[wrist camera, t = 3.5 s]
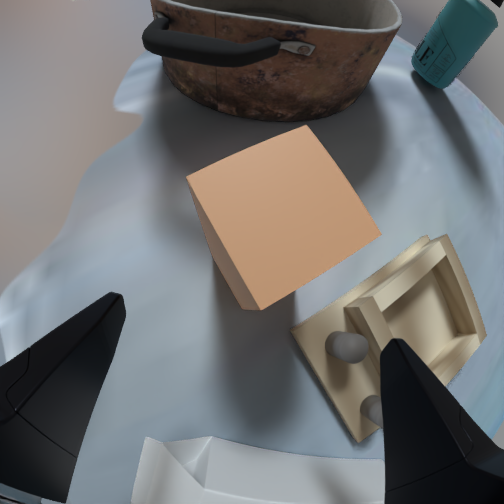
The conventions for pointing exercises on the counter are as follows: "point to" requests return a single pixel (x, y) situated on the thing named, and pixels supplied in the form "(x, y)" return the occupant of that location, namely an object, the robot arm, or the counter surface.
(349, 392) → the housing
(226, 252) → the block
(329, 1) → the cooking pot
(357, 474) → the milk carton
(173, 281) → the counter surface
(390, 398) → the robot arm
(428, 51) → the beverage bottle
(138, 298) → the counter surface
